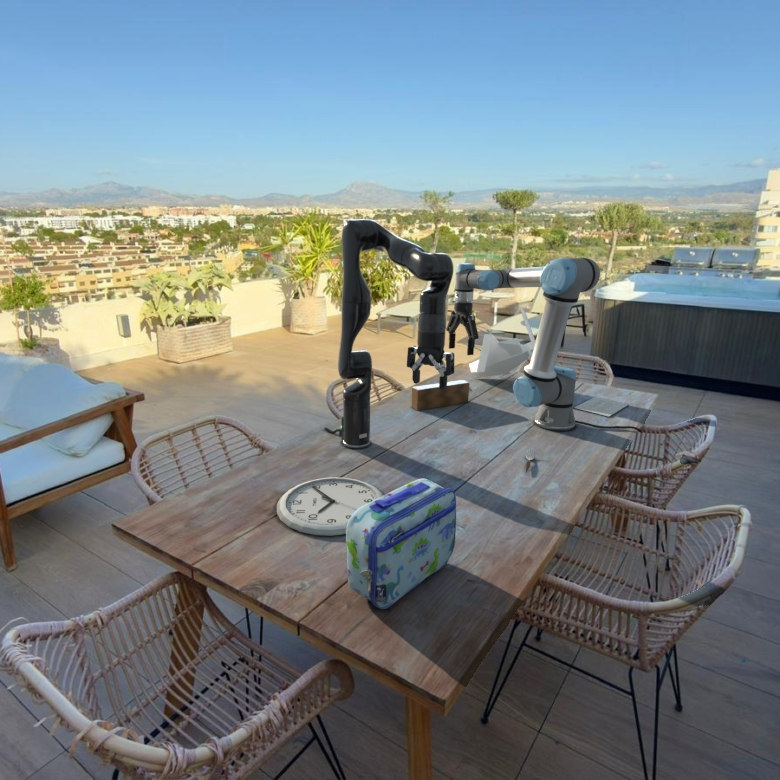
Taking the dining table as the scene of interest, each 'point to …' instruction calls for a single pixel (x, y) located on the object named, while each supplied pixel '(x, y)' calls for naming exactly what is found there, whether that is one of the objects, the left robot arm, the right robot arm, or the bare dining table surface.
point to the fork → (529, 460)
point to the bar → (440, 395)
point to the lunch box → (400, 540)
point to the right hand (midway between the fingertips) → (460, 351)
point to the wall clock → (324, 504)
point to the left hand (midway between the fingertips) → (429, 385)
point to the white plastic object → (502, 354)
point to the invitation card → (601, 406)
